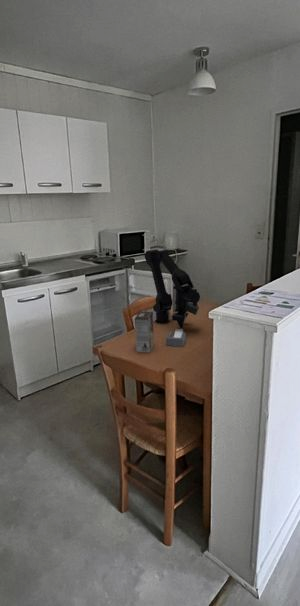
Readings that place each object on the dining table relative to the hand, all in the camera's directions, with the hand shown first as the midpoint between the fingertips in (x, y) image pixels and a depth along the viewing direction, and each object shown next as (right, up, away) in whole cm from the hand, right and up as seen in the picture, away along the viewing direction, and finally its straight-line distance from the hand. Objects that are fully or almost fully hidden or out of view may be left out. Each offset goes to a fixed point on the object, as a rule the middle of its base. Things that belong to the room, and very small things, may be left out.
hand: (181, 328), depth 181 cm
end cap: (-4, -5, -14) cm, 15 cm away
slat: (-3, -5, -11) cm, 12 cm away
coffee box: (-18, -8, -19) cm, 28 cm away
